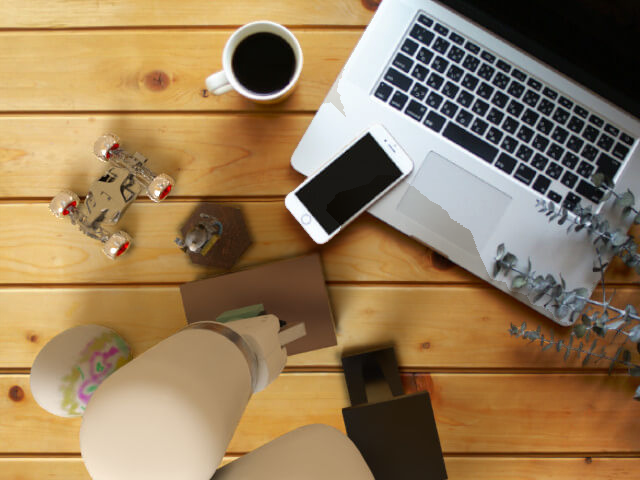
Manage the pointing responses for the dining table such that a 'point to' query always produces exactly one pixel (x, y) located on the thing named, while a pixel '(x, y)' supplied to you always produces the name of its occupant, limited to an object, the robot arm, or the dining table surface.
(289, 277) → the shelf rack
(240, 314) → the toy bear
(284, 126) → the dining table surface
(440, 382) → the dining table surface
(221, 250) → the robot figurine
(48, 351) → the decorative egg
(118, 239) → the toy car
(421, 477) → the plant stand
